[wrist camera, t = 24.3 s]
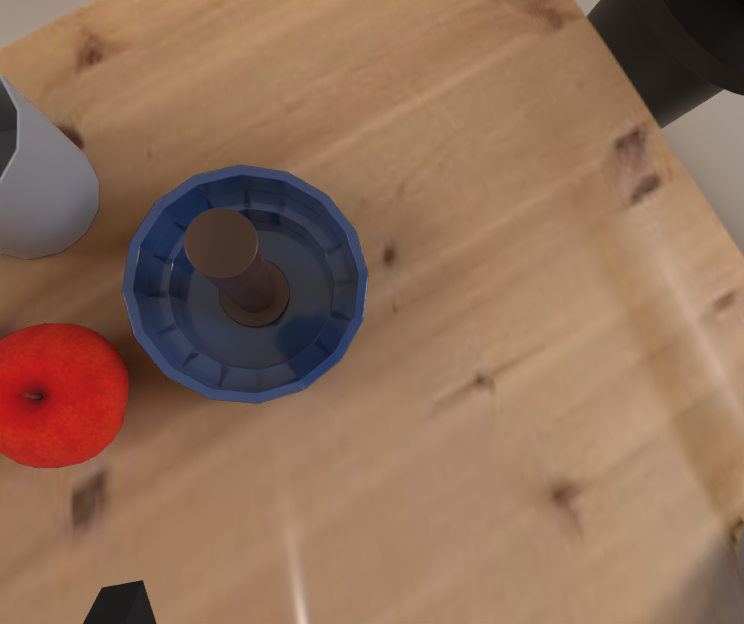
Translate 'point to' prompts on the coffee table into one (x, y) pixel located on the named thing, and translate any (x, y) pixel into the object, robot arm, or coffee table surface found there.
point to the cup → (40, 182)
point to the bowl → (201, 297)
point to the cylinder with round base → (237, 267)
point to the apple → (59, 395)
